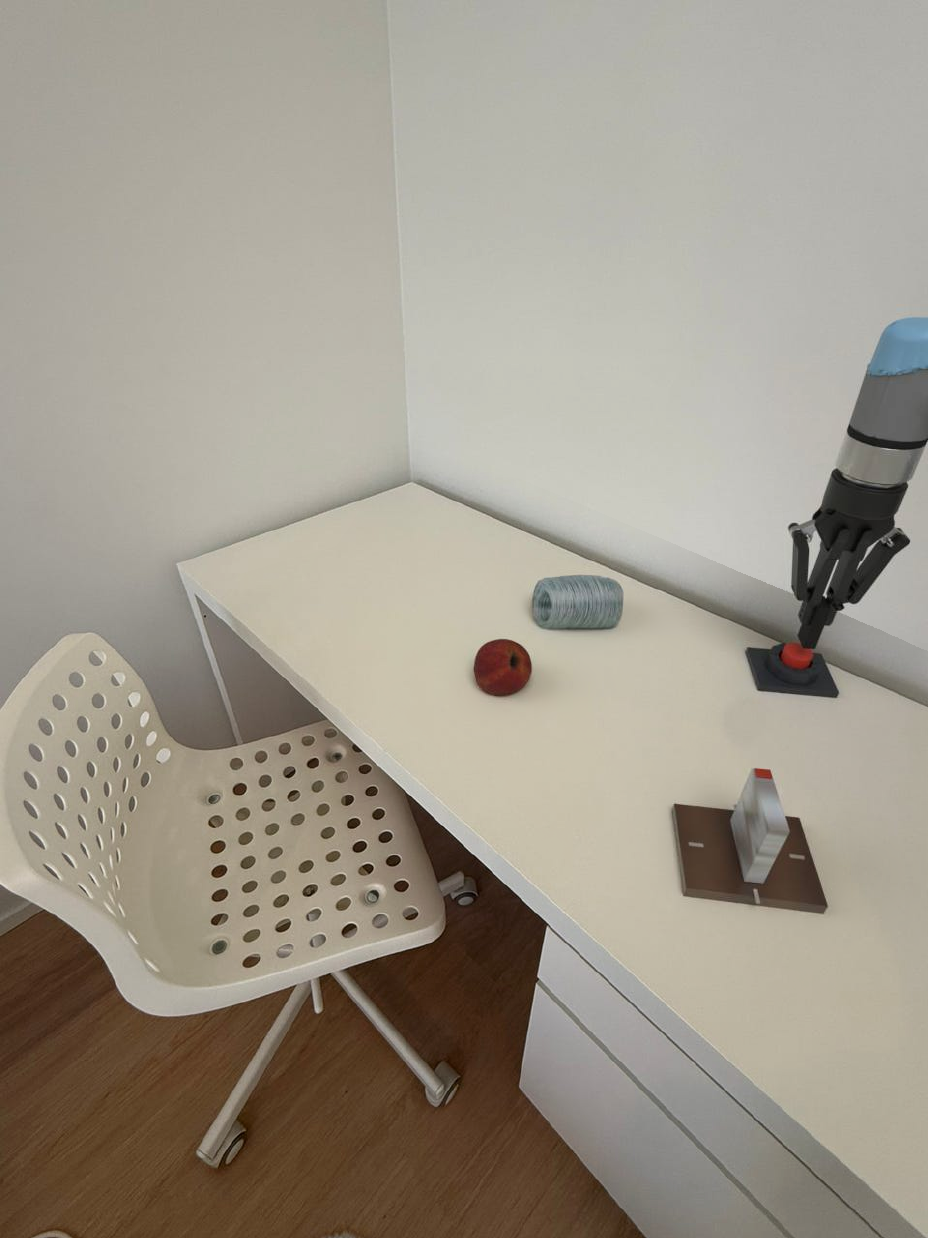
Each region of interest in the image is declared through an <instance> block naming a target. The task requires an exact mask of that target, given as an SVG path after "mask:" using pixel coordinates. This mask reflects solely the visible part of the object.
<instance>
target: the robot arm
mask: <svg viewBox="0 0 928 1238" xmlns="http://www.w3.org/2000/svg"><path fill="white" fill-rule="evenodd" d="M852 410H853V411H852V414H851V416H850V419H849V423H848V426H847V428H846V431H845V433H844V436H843V439H842V442H841V445H840V448H839V451H838V453H837V457H836V459H835V463H834V466H835V468H834V469H833V470H832V471H831V473H830V476H829V479H828V482H827V485H826V487H825V490H824V493H823V496H822V500H821V505H820V506H819V508H817V510H815V512H814V513H813V514H812V517H811V519H810V520H808V521H805V522H803V523H800V524H799V523H797V522H791V523H790V524H789V525H788V526H787V530H788V532H789V534H790V537H791V539H792V552H791V555H792V556H791V581H790V588H791V591H792V593H793V594H794V597H795V599H796V600H797V601H798V602H802V603H801V605H800V608H799V611H798V614H797V616H798V621H799V623H800V627H799V630H798V633H797V638H798V640H799V644H801V645H802V647H803V648H806V649H811V650H815V649H816V647H817V645H818V643H819V640H820V637H821V635H822V633H823V630H824V628H825V627H826V626H827V627H830V626H831V625H832V624H833V623H834V621H835V618H836V616H837V613H838V612H841V611H843V610H844V609H845V606H844V605H845V604H851V605H857V604H859V602H860V601H861V600H862V599H863V598H864V597H865V595H866V593H867V592H868V591H869V590H870V588H871V587H872V585H873V584H874V583H876V580H877V579H878V578H879V576H880V575H881V574H882V573H883V571H884V570H885V569H886V567H887V566H888V565H889V563H890V562H891V561H892V560H893V558H894V557H895V556H896V555H897V554H898V553H900V552H901V551H902V550H904V549H905V548H906V547H908V546H909V545H910V543H911V539H910V538H909V536H907V534H906V533H905V532H904V531H903V529H902V528H900V527H896V526H895V525H896V521H895V515H897V513H898V512H899V509H900V508H901V504H902V503H903V501H904V497H905V495H906V493H907V491H908V488H909V484H908V482H909V481H911V480H913V477H914V475H915V472H916V470H917V468H918V465H919V463H920V460H921V458H922V456H923V453H924V450H925V448H926V446H927V444H928V317H927V316H926V317H924V316H923V317H921V316H919V317H916V316H913V317H903V318H899V319H896V320H894V321H892V322H891V323H890V324H888V325H886V327H884V329H883V331H882V332H881V334H880V337H879V340H878V342H877V344H876V348H875V349H874V352H873V355H872V357H871V360H870V362H869V363H868V364H867V366H866V371H865V374H864V377H863V380H862V383H861V386H860V389H859V392H858V394H857V398H856V401H855V405H854V407H853V409H852ZM815 531H816V533H817V534H818V537H819V539H820V542H819V551H818V553H817V556H816V559H815V562H814V565H813V567H812V570H811V572H810V576H809V566H810V545H809V543H811V542H812V539H813V537H814V533H815ZM872 545H873V547H872V549H871V550H870V551H869V552H868V554H867V551H868V549H869V548H870V547H871V546H872ZM866 554H867V555H866ZM865 556H866V557H865ZM836 563H837V564H836ZM860 563H861V564H860ZM834 568H835V569H834ZM829 581H830V582H829ZM827 586H828V587H827ZM825 591H826V592H825ZM825 593H826V596H825V595H824V594H825Z"/></svg>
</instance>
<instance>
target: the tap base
mask: <svg viewBox="0 0 928 1238" xmlns="http://www.w3.org/2000/svg"><path fill="white" fill-rule="evenodd" d="M736 805H737V804H733V809H728V808H727V809H726V808H718V807H711V806H710V807H709V806H700V805H691V804H682V803H673V806H672V809H671V817H672V824H673V830H674V837H675V838H674V839H675V846H676V853H677V860H678V861H677V862H678V869H679V875H680V882H681V889H682V896H683V897H685V898H694V899H701V900H711V901H718V902H725V903H732V904H742V905H749V906H757V907H765V908H772V909H780V910H781V909H782V910H787V911H794V912H795V911H796V912H804V913H812V914H819V915H824V914H825V912H826V911H827V909H828V908H829V905H828V902H827V899H826V896H825V895H826V894H825V893H824V890H823V886H822V884H821V880H820V877H819V873H818V871H817V868H816V865H815V862H814V858H813V855H812V853H811V849H810V846H809V842H808V840H807V837H806V833H805V830H804V827H803V824H802V820H801V819H800V817H797V816H789V815H785V818H786V821H787V824H788V827H789V831H790V832H789V834H788V836H787V838H786V840H785V842H784V844H783V846H782V848H781V850H780V852H779V854H778V856H777V857H776V859H775V861H774V863H773V865H772V867H771V869H770V871H769V873H768V875H767V877H766V879H765V881H764V883H763V884H761V883H752V882H745V881H744V878H743V874H742V870H741V865H740V861H739V857H738V853H737V848H736V844H735V840H734V835H733V831H732V827H731V822H730V820H731V818H732V815H733V813H734V810H735V808H736Z"/></svg>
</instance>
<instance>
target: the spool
mask: <svg viewBox="0 0 928 1238" xmlns="http://www.w3.org/2000/svg"><path fill="white" fill-rule="evenodd" d="M531 599H532V601H531V602H532V603H531V604H532V605H531V607H532V615H533V619H534V622H535V623H536V625H537V626H538V627H540V628H541V629H546V630H554V629H555V630H560V629H561V630H562V629H589V630H590V629H591V630H593V629H600V630H603V629H613V628H615V627H616V626H617V625H618V624H619V622H620V620H621V619H622V616H623V609H624V589H623V587H622V586H621V584H620V583H619V582H618V581H617V580H616V579H614V578H611V577H607V576H602V575H594V574H570V575H560V576H552V577H551V576H550V577H544V578H542V579H540V580H538V581H537V583H536V584H535V586H534V589H533V592H532V598H531Z"/></svg>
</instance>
